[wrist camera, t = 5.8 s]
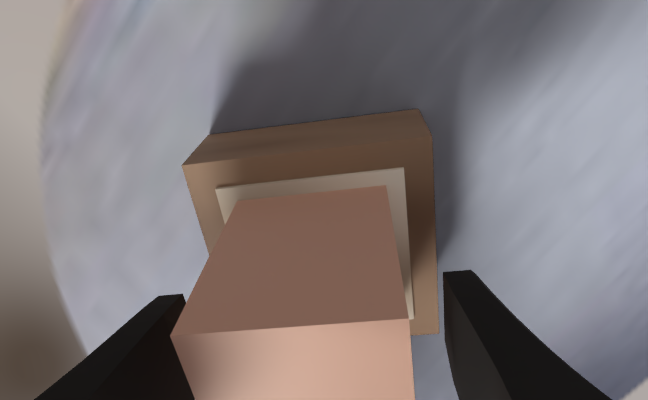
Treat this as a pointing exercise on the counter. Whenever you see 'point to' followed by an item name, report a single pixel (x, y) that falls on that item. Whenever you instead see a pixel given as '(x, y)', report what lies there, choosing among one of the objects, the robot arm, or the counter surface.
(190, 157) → the walnut foundation
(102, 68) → the counter surface
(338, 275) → the terracotta block
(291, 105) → the counter surface
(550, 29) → the counter surface
